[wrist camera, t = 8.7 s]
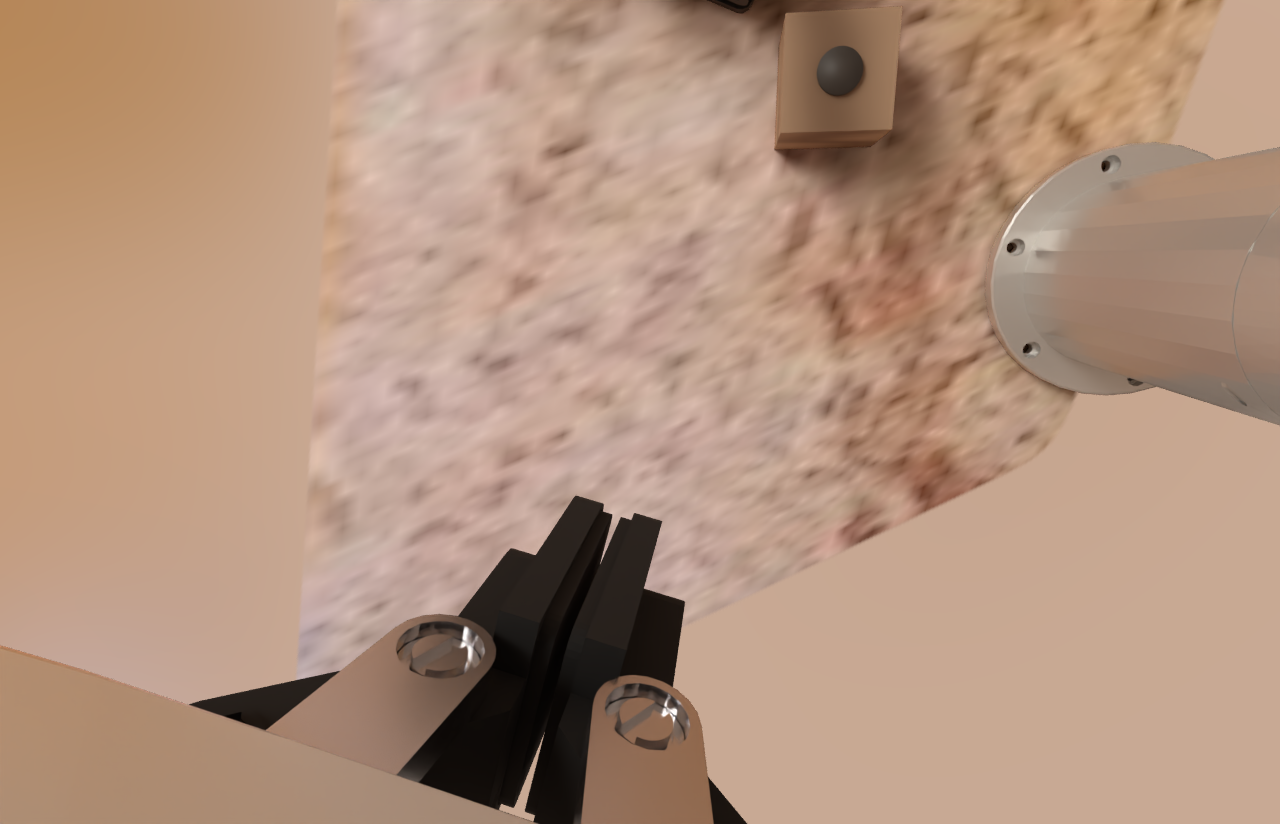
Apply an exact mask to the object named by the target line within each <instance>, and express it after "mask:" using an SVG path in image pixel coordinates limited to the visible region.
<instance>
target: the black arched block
mask: <svg viewBox="0 0 1280 824" xmlns="http://www.w3.org/2000/svg"><path fill="white" fill-rule="evenodd" d="M708 1H711V2H713V3H715V4H718V5H720V6H723V7H725V8H727V9H730V10H732V11H734V12H737V13H744V12H746V11H748V10H749V8H750V7H751V5H752V3H753V1H754V0H708Z"/></svg>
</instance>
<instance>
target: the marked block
mask: <svg viewBox="0 0 1280 824" xmlns="http://www.w3.org/2000/svg"><path fill="white" fill-rule="evenodd" d="M902 7H903V6H896V7H879V8H862V9H845V10H828V11H812V12H795V13H786V14H785V19H784V24H783V29H782V34H781V39H780V44H779V54H778V78H777V101H776V125H775V148H774V150H780V149H814V148H849V147H871V146H872V145H873V144H875V143H876V142H877V141H878V140H880V139H881V138H882V137H883V136H885V135H886V134H887V133H888V132H890V131H891V130H892V126H893V114H894V103H895V91H896V79H897V67H898V55H899V43H900V31H901V19H902Z"/></svg>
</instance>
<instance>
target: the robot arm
mask: <svg viewBox="0 0 1280 824" xmlns="http://www.w3.org/2000/svg"><path fill="white" fill-rule="evenodd" d="M1102 162H1104V163H1105V165H1106V168H1105V170H1104V171H1102V169H1101V164H1102ZM1008 243H1012V244H1013V250H1012V251H1011V252H1007V245H1008ZM985 298H986V304H987V310H988V316H989V319H990V322H991V324H992V327H993V329H994V332H995V334H996V337H997V338H998V339H999V341H1000V342H1001V344H1002V345H1003V347H1004V348H1005V350H1006V351H1007V353H1008V354H1009V355H1010V356H1011V357H1012V358H1013V359H1014V360H1015V361H1016V362H1017V363H1018V364H1019V365H1020V366H1021V367H1023V368H1024V369H1025V370H1027V371H1028V372H1030V373H1032V374H1033V375H1035V376H1037V377H1038V378H1040V379H1041V380H1043V381H1046V382H1049V383H1051V384H1053V385H1055V386H1058V387H1060V388H1064V389H1068V390H1071V391H1075V392H1079V393H1084V394H1098V395H1115V394H1126V393H1133V392H1138V391H1141V390H1145V389H1149V388H1153V387H1160V388H1163V389H1166V390H1169V391H1172V392H1176V393H1179V394H1182V395H1185V396H1188V397H1191V398H1194V399H1198V400H1201V401H1204V402H1207V403H1211V404H1213V405H1217V406H1220V407H1223V408H1226V409H1230V410H1232V411H1236V412H1239V413H1242V414H1245V415H1248V416H1252V417H1255V418H1258V419H1261V420H1265V421H1268V422H1271V423H1274V424H1277V425H1280V147H1277V148H1273V149H1267V150H1262V151H1257V152H1252V153H1247V154H1242V155H1237V156H1232V157H1227V158H1222V159H1216V160H1215V159H1213V158H1211V157H1210V156H1208V155H1206V154H1204V153H1201V152H1198V151H1195V150H1193V149H1190V148H1186V147H1184V146H1180V145H1172V144H1165V143H1157V142H1152V143H1135V144H1126V145H1121V146H1117V147H1112V148H1108V149H1104V150H1101V151H1098V152H1095V153H1092V154H1089V155H1086V156H1083V157H1080V158H1078V159H1076V160H1074V161H1072V162H1070V163H1069V164H1067V165H1065V166H1063V167H1061V168H1059V169H1057V170H1055V171H1054V172H1053V173H1051V174H1050V175H1049V176H1047V177H1046V178H1045V179H1043V180H1042V181H1041V182H1039V183H1038V184H1037V185H1035V186H1034V187H1033V188H1032V189H1031V190H1030V191H1029V192H1028V193H1027V194H1026V196H1025V197H1024V198H1023V199H1022V200H1021V201H1020V202H1019V203H1018V204H1017V205H1016V206H1015V208H1014V209H1013V211H1012V212H1011V214H1010V215H1009V217H1008V218H1007V219H1006V221H1005V222H1004V224H1003V225H1002V227H1001V229H1000V231H999V234H998V236H997V238H996V240H995V243H994V245H993V247H992V249H991V253H990V257H989V262H988V266H987V270H986V282H985ZM1026 344H1028V345H1029V349H1028V350H1027V351H1026V352H1023V347H1024V346H1025V345H1026ZM603 507H604V504H603V503H599V502H596V501H593V500H589V499H586V498H582V497H579V496H575V497H574V498H573V500H572V501H571V503H570V504H569V506H568V507H567V509H566V510H565V512H564V513H563V515H562V516H561V518H560V519H559V521H558V522H557V524H556V525H555V527H554V528H553V530H552V531H551V533H550V534H549V536H548V537H547V539H546V541H545V542H544V544H543V545H542V547H541V548H540V550H539V551H538V553H537V554H536V555H532V554H529V553H526V552H523V551H519V550H516V549H510V550H509V551H508V552H507V553H506V554H505V556H504V557H503V558H502V559H501V561H500V562H499V563H498V565H497V566H496V567H495V569H494V570H493V571H492V573H491V574H490V575H489V576H488V578H487V579H486V580H485V582H484V583H483V584H482V586H481V587H480V588H479V589H478V591H477V592H476V593H475V595H474V596H473V597H472V599H471V600H470V601H469V603H468V604H467V605H466V606H465V608H464V609H463V610H462V612H461V613H460V614H459V616H453V615H443V614H435V615H423V616H420V617H416V618H413V619H410V620H407V621H405V622H404V623H402V624H400V625H398V626H397V627H395V628H394V629H393V630H391V631H390V632H389V633H388V634H386V635H385V636H384V637H383V638H381V639H380V640H379V641H378V642H376V643H375V644H374V645H372V646H371V647H370V648H369V649H367V650H366V651H365V652H364V653H362V654H361V655H360V656H359V657H357V658H356V659H355V660H354V661H352V662H351V663H350V664H349V665H347V666H346V667H345V668H344V669H342V670H341V671H337V672H332V673H328V674H323V675H318V676H314V677H309V678H305V679H300V680H295V681H291V682H286V683H281V684H277V685H272V686H268V687H263V688H258V689H253V690H249V691H244V692H240V693H235V694H230V695H226V696H221V697H217V698H212V699H207V700H202V701H199V702H195V703H192V704H189V705H188V704H185V703H182V702H179V701H176V700H172V699H170V698H167V697H164V696H160V695H158V694H155V693H152V692H148V691H146V690H143V689H140V688H137V687H134V686H131V685H128V684H125V683H121V682H119V681H116V680H113V679H110V678H107V677H104V676H101V675H98V674H95V673H92V672H89V671H86V670H83V669H79V668H76V667H72V666H69V665H66V664H62V663H59V662H55V661H52V660H49V659H45V658H42V657H39V656H35V655H32V654H28V653H25V652H22V651H18V650H15V649H12V648H8V647H5V646H1V645H0V824H747V823H746V822H745V821H744V819H743V818H742V817H741V816H740V815H739V814H738V812H737V811H736V810H735V809H734V808H733V806H732V805H731V804H730V803H729V801H728V800H727V799H726V798H725V797H724V795H723V794H722V793H721V792H720V791H719V789H718V788H717V787H716V786H715V785H714V783H713V782H712V781H711V780H710V779H709V777H708V774H707V766H706V758H705V749H704V741H703V733H702V726H701V723H700V719H699V716H698V713H697V711H696V710H695V708H694V707H693V705H692V704H691V702H690V701H689V700H688V699H687V698H685V696H684V695H682V694H681V693H680V692H679V691H678V690H677V689H675V688H673V682H674V675H675V668H676V661H677V654H678V647H679V640H680V633H681V627H682V620H683V613H684V606H685V601H682V600H679V599H676V598H673V597H669V596H666V595H663V594H660V593H656V592H653V591H650V590H647V589H644V586H645V582H646V578H647V575H648V571H649V567H650V564H651V560H652V556H653V553H654V549H655V546H656V542H657V538H658V535H659V531H660V527H661V524H662V521H660V520H656V519H653V518H650V517H646V516H643V515H640V514H636V513H634V515H633V517H632V520H629V519H626V518H622V517H621V518H620V520H619V523H618V525H617V527H616V530H615V532H614V534H613V536H612V539H611V541H610V543H609V546H608V548H607V550H606V553H605V555H604V557H603V559H602V562H601V558H602V555H603V551H604V547H605V543H606V539H607V535H608V532H609V528H610V524H611V520H612V514H609V513H606V512H603ZM600 562H601V564H600ZM544 732H545V733H544ZM543 735H544V738H543V741H542V745H541V749H540V753H539V757H538V761H537V765H536V768H535V772H534V777H533V780H532V784H531V789H530V792H529V796H528V800H527V804H526V808H525V812H527V813H530V814H533V815H535V818H534V821H533V822H532V821H529V820H527V819H524V818H520V817H518V816H515V815H512V814H509V813H506V812H503V811H500V810H499V808H500V805H501V804H503V805H506V806H509V807H512V808H514V806H515V804H516V802H517V800H518V797H519V795H520V792H521V790H522V787H523V785H524V782H525V780H526V777H527V775H528V772H529V769H530V767H531V764H532V762H533V759H534V757H535V755H536V752H537V750H538V747H539V745H540V742H541V739H542V737H543Z"/></svg>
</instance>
